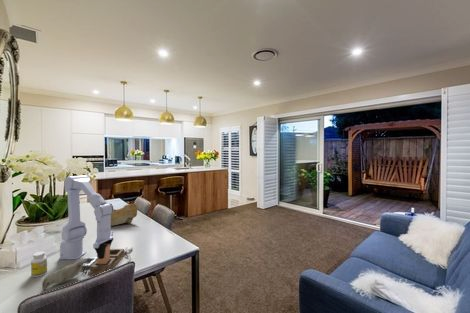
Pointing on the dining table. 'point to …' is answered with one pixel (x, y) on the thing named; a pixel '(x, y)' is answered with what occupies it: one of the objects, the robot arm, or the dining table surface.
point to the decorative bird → (64, 274)
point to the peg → (105, 256)
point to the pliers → (128, 253)
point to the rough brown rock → (124, 214)
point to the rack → (114, 259)
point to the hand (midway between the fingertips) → (103, 256)
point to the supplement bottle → (38, 264)
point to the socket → (92, 259)
